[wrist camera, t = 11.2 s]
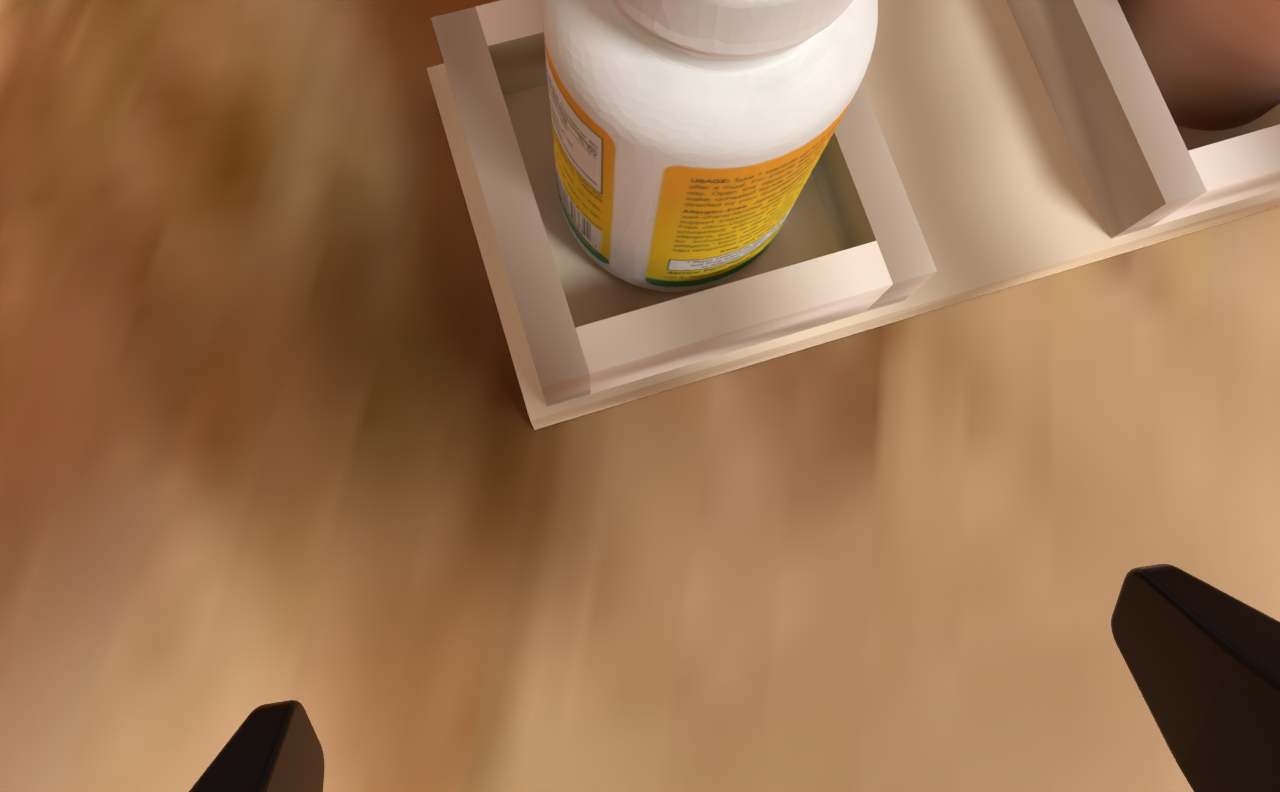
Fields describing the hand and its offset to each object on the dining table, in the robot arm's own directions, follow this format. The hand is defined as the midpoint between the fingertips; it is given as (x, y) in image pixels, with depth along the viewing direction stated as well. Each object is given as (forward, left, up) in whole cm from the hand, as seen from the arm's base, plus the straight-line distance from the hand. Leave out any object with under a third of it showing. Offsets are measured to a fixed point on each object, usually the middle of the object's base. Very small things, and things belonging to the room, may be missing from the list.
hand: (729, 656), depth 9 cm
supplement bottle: (+4, -9, -9) cm, 13 cm away
